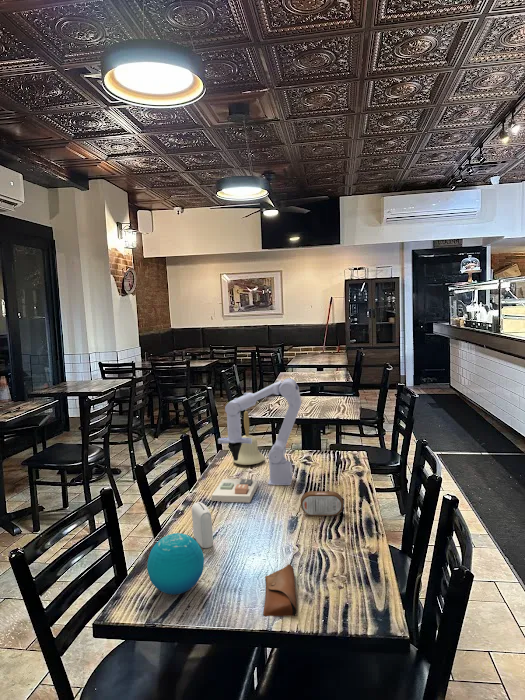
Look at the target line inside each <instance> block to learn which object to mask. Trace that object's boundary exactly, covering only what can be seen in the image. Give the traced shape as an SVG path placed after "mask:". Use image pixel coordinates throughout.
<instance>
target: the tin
mask: <svg viewBox="0 0 525 700" xmlns="http://www.w3.org/2000/svg"><path fill="white" fill-rule="evenodd" d="M343 499H344V498H343V497H342V496H341V494H340V493H338V492H336V491H334V490H333V491H332V490H330V491H329V490H328V491H326V490H324V491H323V490H310V491H306V492H305V493H303V495H302V496H301V498H300V507H301V510H302V512H303V513H304V514H305V515H307V516H311V517H334V516H338V515H339V514H340V513H341V512H342V511H343V509H344V500H343Z"/></svg>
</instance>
